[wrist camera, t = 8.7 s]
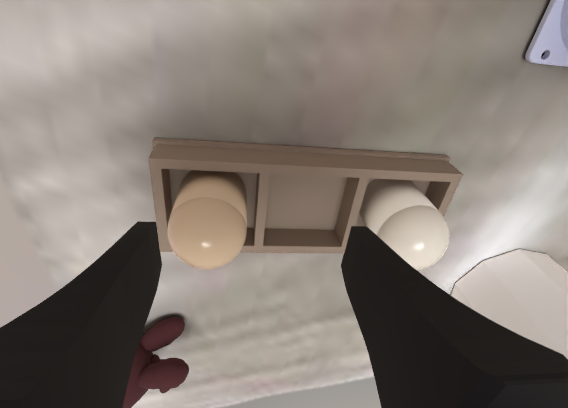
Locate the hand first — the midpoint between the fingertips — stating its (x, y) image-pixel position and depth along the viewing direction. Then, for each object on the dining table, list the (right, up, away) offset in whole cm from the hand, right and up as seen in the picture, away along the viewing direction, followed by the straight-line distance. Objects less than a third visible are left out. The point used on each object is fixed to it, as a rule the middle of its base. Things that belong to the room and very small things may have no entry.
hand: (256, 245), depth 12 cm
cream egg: (+9, +2, +12) cm, 15 cm away
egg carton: (+2, +2, +11) cm, 12 cm away
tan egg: (-4, +2, +10) cm, 11 cm away
